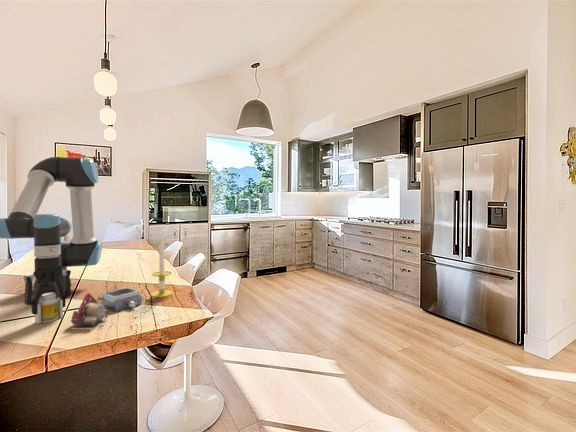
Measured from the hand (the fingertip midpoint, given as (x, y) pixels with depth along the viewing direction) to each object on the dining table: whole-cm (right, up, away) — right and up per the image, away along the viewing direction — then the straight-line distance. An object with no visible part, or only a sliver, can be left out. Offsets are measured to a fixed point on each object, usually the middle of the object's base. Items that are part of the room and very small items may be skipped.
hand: (49, 319), depth 109 cm
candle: (+27, +1, +33) cm, 43 cm away
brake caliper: (+16, -1, -2) cm, 17 cm away
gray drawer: (+18, 0, +16) cm, 24 cm away
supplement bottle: (0, 0, 0) cm, 1 cm away
